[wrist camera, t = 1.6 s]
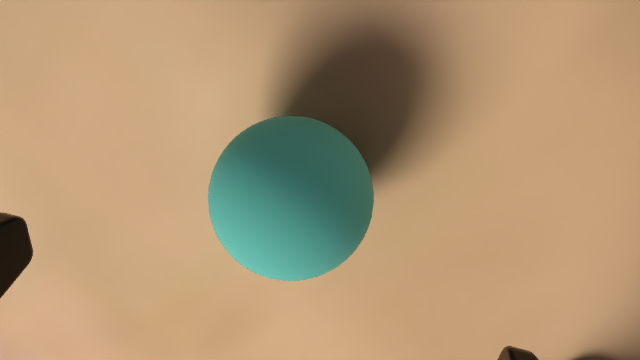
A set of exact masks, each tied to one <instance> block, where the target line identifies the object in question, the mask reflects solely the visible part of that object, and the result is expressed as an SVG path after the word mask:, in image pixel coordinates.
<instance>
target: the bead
mask: <svg viewBox="0 0 640 360" xmlns="http://www.w3.org/2000/svg"><path fill="white" fill-rule="evenodd" d="M373 202H374V197H373V186H372V180H371V176H370V173H369V170H368V167H367V165H366V163H365V161H364V159H363V157H362V155H361V154H360V152H359V151H358V149H357V148H356V147H355V146H354V144H353V143H352V142H351V141H350V140H349V139H348V138H347V137H346V136H345V135H344V134H342V133H341V132H339V131H338V130H337V129H335V128H333V127H332V126H330V125H328V124H326V123H324V122H321V121H319V120H316V119H312V118H308V117H301V116H281V117H274V118H271V119H267V120H264V121H261V122H259V123H257V124H254V125H252V126H251V127H249V128H247V129H246V130H244V131H243V132H241V133H240V134H239V135H238V136H236V137H235V138H234V139H233V140H232V141H231V142H230V144H229V145H228V146H227V147H226V148H225V150H224V151H223V152H222V154H221V155H220V157H219V159H218V161H217V163H216V165H215V167H214V170H213V172H212V176H211V181H210V185H209V193H208V203H209V213H210V218H211V221H212V224H213V227H214V230H215V232H216V234H217V237H218V239H219V240H220V242H221V243H222V245H223V246H224V248H225V249H226V250H227V251H228V253H229V254H230V255H231V256H232V257H233V258H234V259H235V260H236V261H237V262H239V263H240V264H241V265H243V266H244V267H246V268H247V269H249V270H250V271H252V272H254V273H256V274H259V275H261V276H264V277H267V278H271V279H276V280H284V281H299V280H306V279H310V278H314V277H318V276H320V275H323V274H325V273H327V272H329V271H330V270H332V269H334V268H336V267H338V266H339V265H340V264H341V263H343V262H344V261H345V260H346V259H347V258H348V257H349V256H350V255H351V254H352V253H353V252H354V251H355V250H356V248H357V247H358V245H359V244H360V242H361V241H362V239H363V238H364V236H365V234H366V232H367V229H368V226H369V223H370V220H371V217H372V210H373Z"/></svg>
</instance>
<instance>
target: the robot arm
mask: <svg viewBox="0 0 640 360" xmlns="http://www.w3.org/2000/svg"><path fill="white" fill-rule="evenodd" d="M32 256H33V248H32V244H31V240H30V236H29V232H28V228H27V224H26V222H25V220H24V219H23V218H21V217H19V216H15V215H11V214H7V213H0V298H1V297H2V296H3V295H4V293H5V292H6V291H7V290H8V289H9V287H10V286H11V285H12V284H13V282H14V281H15V280H16V279H17V278H18V276H19V275H20V274H21V273H22V271H23V270H24V269H25V268H26V267H27V265H28V264H29V263H30V261H31V259H32ZM498 360H538V358H537V357H536V356H535V355H534V354H533V353H532V352H530V351H527V350H523V349H519V348H516V347H512V346H507V347H505V348H504V349H503V350H502V352H501V354H500V356H499V358H498Z"/></svg>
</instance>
